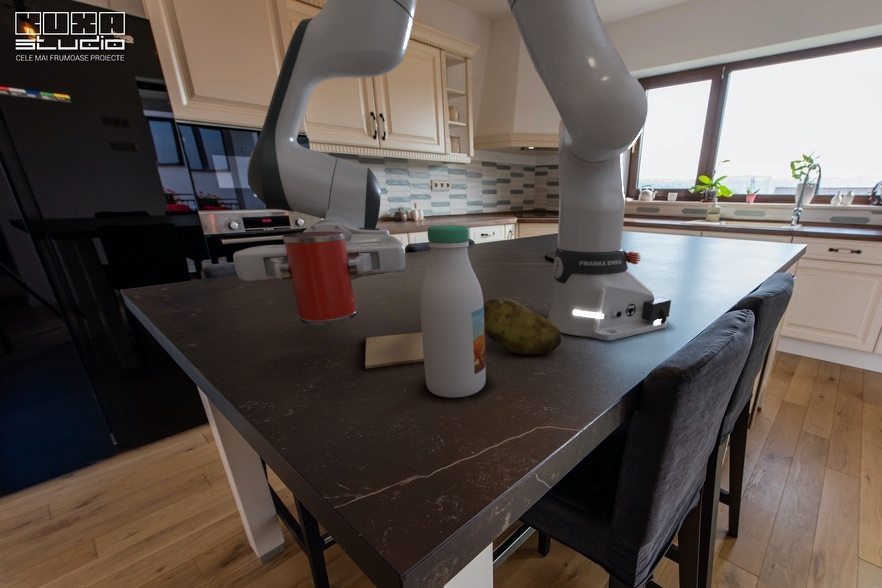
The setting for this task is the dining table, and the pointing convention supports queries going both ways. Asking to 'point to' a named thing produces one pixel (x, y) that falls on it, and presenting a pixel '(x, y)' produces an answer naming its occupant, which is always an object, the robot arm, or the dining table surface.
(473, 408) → the dining table surface
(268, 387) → the dining table surface
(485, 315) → the potato
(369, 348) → the cork mat
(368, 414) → the dining table surface
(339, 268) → the tomato tin
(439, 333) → the milk bottle
